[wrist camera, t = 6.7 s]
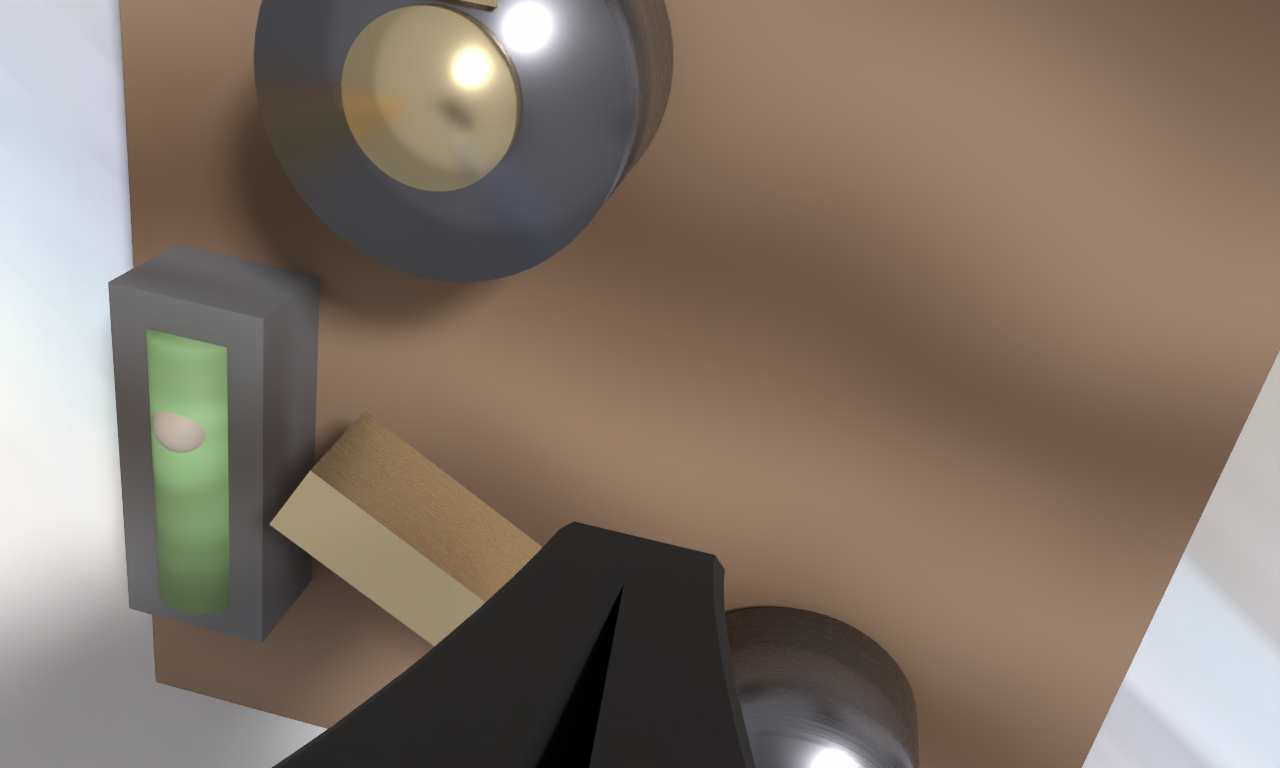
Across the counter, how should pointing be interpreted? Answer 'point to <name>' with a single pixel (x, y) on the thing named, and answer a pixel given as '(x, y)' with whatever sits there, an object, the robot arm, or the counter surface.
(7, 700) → the counter surface
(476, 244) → the knob
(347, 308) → the brown knob panel
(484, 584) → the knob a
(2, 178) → the counter surface
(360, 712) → the robot arm
